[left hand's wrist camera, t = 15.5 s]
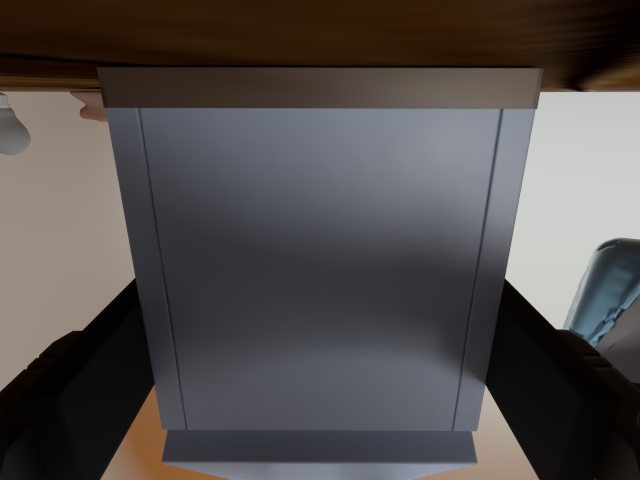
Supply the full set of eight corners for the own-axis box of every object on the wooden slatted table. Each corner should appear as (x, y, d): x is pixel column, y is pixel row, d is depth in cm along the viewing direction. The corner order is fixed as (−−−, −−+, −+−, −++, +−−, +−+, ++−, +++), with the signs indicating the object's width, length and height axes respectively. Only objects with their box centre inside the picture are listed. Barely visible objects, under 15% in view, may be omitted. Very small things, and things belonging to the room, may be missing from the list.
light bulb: (8, 92, 61) (24, 156, 65) (25, 92, 67) (40, 152, 70) (-37, 92, 60) (-18, 158, 64) (-15, 92, 66) (1, 153, 69)
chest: (396, 86, 25) (387, 237, 28) (244, 86, 25) (253, 237, 28) (544, 67, 8) (478, 432, 12) (96, 67, 8) (161, 430, 12)
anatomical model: (78, 138, 35) (207, 132, 40) (68, 90, 33) (203, 91, 39) (78, 128, 46) (181, 124, 51) (71, 91, 44) (177, 92, 50)
